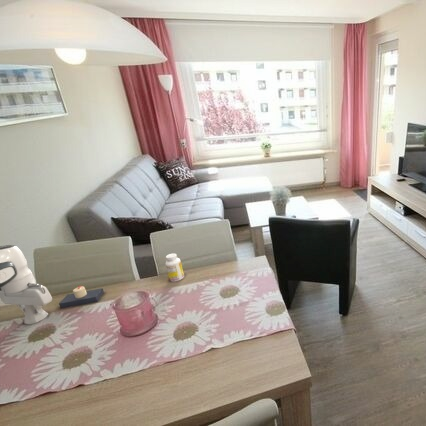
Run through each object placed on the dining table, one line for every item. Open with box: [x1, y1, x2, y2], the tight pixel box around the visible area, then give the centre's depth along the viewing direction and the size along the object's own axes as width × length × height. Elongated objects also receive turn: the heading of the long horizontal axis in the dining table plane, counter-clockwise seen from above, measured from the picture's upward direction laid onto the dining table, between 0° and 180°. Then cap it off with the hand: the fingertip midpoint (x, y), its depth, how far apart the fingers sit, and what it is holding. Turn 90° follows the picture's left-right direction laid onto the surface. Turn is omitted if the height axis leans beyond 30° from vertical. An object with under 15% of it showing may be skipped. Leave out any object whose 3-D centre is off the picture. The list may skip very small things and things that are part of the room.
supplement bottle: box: [164, 253, 185, 282], centre depth 142 cm, size 7×7×13 cm
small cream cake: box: [72, 285, 87, 298], centre depth 129 cm, size 4×4×4 cm
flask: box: [23, 305, 49, 325], centre depth 119 cm, size 7×7×10 cm
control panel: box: [58, 287, 105, 309], centre depth 130 cm, size 14×7×3 cm, turn 105°
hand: (33, 312), depth 119 cm, fingers closed on flask, 5 cm apart
